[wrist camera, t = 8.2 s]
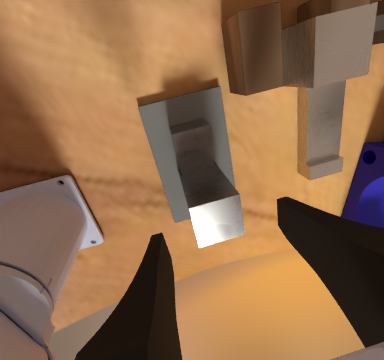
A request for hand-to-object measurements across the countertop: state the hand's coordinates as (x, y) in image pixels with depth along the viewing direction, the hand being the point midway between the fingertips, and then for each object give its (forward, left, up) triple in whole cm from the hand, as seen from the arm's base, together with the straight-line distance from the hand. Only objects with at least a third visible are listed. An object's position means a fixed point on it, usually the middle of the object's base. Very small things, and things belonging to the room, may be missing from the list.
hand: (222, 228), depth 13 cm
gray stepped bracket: (0, +1, -9) cm, 9 cm away
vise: (+11, +9, -9) cm, 17 cm away
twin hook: (+11, +3, -9) cm, 15 cm away
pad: (0, +1, -9) cm, 9 cm away
